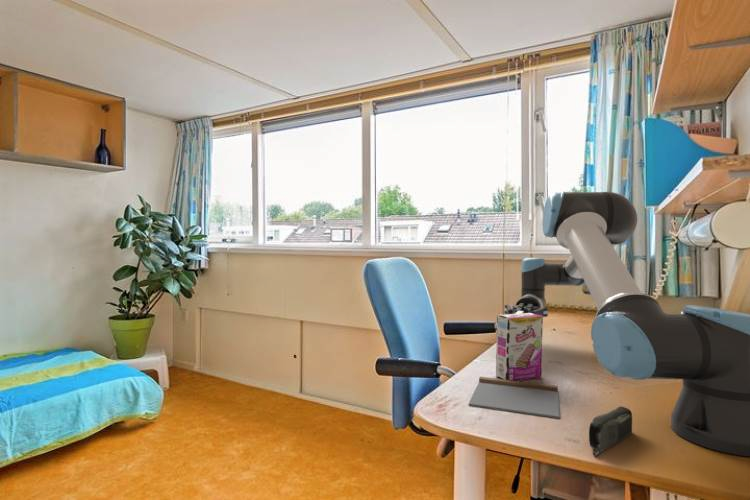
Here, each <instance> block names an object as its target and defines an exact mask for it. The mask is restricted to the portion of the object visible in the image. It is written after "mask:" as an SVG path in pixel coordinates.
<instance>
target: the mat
mask: <svg viewBox="0 0 750 500" xmlns="http://www.w3.org/2000/svg"><path fill="white" fill-rule="evenodd" d="M559 404H560V403H559V391H558V392H557V391H549V390H541V389H533V388H524V387H516V386H508V385H500V384H492V383H484V382H479V381H478V384H477V386H476V387H475V389H474V391H473V393H472V396H471V398H470V400H469V402H468V406H469V405H471V407H478V408H483V409H492V410H499V411H505V412H512V413H517V414H518V413H519V414H525V415H533V416H539V417H547V418H553V419H559V420H560V405H559Z"/></svg>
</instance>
